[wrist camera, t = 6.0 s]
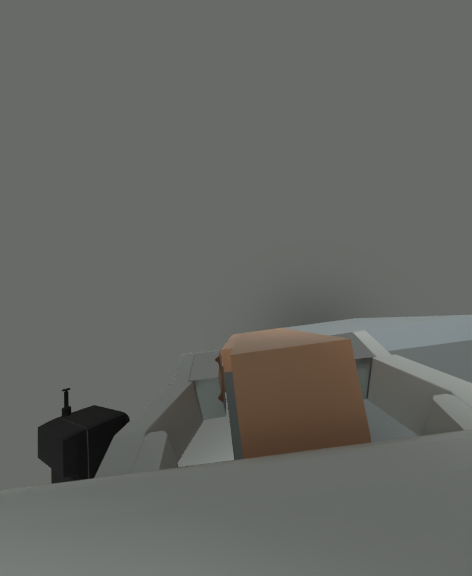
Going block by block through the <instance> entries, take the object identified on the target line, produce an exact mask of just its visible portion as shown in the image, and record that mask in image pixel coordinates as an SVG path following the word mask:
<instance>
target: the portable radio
mask: <svg viewBox="0 0 472 576" xmlns="http://www.w3.org/2000/svg"><path fill="white" fill-rule="evenodd" d="M68 390H70V388H67V389H63V390H62V391H65V392H64V408H62V416H61V417H58V418H56V419H53V420H51V421H49V422H47V423H45V424H43V425H42V426H40V427H38V458H39V459H40V460H42V461H43V462H44V463H45V464H47V465H48V466H49V467H50V468H51V470H52V473H51V474H52V484H54V483H62V482H69V481H77V480H85V479H92V478H94V477H95V475H96V473H97V471H98V469H99V467H100V465H101V463H102V461H103V458H104V456H105V454H106V452H107V450H108V448H109V446H110V444H111V442H112V439H113V437H114V436H115V435H116V434H117V433H118V432H119V431H120V430H121V429H122V428H123V427H124V426H125V425H126V424H127V423H129V422H130V421H129V417H128V415H127V414H126V413H124V412H121V411H116V410H112V409H108V408H104V407H99V406H95V405H94V406H91V407H87V408H84V409H81V410H79V411H76V412H73V413H71V407H70V406H68Z"/></svg>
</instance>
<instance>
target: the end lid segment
mask: <svg viewBox="0 0 472 576" xmlns="http://www.w3.org/2000/svg"><path fill="white" fill-rule="evenodd" d="M221 352H222V360H223V367H224V372H232V373H233V381H234V389H235V397H236V405H237V414H238V422H239V430H240V438H241V446H242V454H243V459H246V458H254V457H262V456H269V455H277V454H285V453H293V452H300V451H308V450H316V449H323V448H331V447H339V446H347V445H354V444H362V443H370V442H372V441H371V436H370V431H369V426H368V421H367V417H366V412H365V407H364V402H363V397H362V392H361V387H360V382H359V377H358V372H357V368H356V363H355V358H354V353H353V348H352V343H351V339H348V338H342V337H335V336H329V335H323V334H316V333H310V332H303V331H297V330H291V329H284V328H278V329H271V330H263V331H256V332H248V333H241V334H235V335H232V336H231V337H230V339H229V340H228V341H227V343H226V344H225V346H224V347H223V348H222V349H221Z"/></svg>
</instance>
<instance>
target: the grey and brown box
mask: <svg viewBox="0 0 472 576" xmlns="http://www.w3.org/2000/svg"><path fill="white" fill-rule="evenodd" d="M284 329H291V330H297V331H303V332H310V333H316V334H323V335H335V334H342V333H349V332H353V331H359V330H364V331H366V332H367V333H369V334H370V335H371V336H372V337H373V338H374V339H375V340H376V341H377V342H378V343H379V344H380V345H382V346H383V347H384V348H385V349H386V350H387V351H388V352H389V353H390V354H391V355H395V354H396V355H399V356H401V357H404V358H407V359H409V360H412V361H415V362H417V363H420V364H422V365H425V366H428V367H430V368H433V369H436V370H438V371H441V372H444V373H446V374H449V375H451V376H454V377H457V378H459V379H462V380H465V381H467V382H470V383H472V315H456V316H455V315H454V316H421V317H388V318H355V319H347V320H340V321H332V322H325V323H317V324H310V325H302V326H295V327H287V328H284ZM225 381H226V393H227V402H228V410H229V418H230V427H231V436H232V444H233V453H234V460H239V459H243V454H242V446H241V438H240V430H239V422H238V414H237V405H236V397H235V389H234V381H233V373H232V372H225ZM363 402H364V407H365V412H366V417H367V421H368V426H369V431H370V436H371V441H372V442H377V441H385V440H393V439H401V438H408V437H416V436H418V435H417V434H416V433H414V432H413V431H411V430H410V429H408V428H407V427H406V426H404V425H403V424H401V423H400V422H398V421H397V420H396V419H394V418H393V417H391V416H390V415H388V414H387V413H386V412H384V411H383V410H381V409H380V408H378V407H377V406H376V405H374V404H373V403H371V402H370V401H368V399H363Z"/></svg>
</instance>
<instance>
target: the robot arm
mask: <svg viewBox="0 0 472 576" xmlns="http://www.w3.org/2000/svg"><path fill="white" fill-rule="evenodd" d="M329 336H335V337H342V338H348V339H351V343H352V348H353V353H354V358H355V363H356V368H357V372H358V377H359V382H360V387H361V392H362V397H363V399H368V401H370V402H371V403H373V404H374V405H376V406H377V407H378V408H380V409H381V410H383V411H384V412H386V413H387V414H388V415H390V416H391V417H393V418H394V419H396V420H397V421H398V422H400V423H401V424H403V425H404V426H406V427H407V428H408V429H410V430H411V431H413V432H414V433H416V434H417V435H418V436H416V437H408V438H401V439H393V440H385V441H377V442H370V443H362V444H354V445H347V446H339V447H331V448H323V449H316V450H308V451H300V452H293V453H285V454H277V455H269V456H262V457H254V458H246V459H239V460H231V461H223V462H216V463H208V464H200V465H193V466H185V467H178V464H177V463H178V461H179V460H180V458H181V456H182V454H183V453H184V451H185V450H186V448H187V447H188V445H189V443H190V442H191V440H192V439H193V437H194V435H195V434H196V432H197V431H198V429H199V427H200V426H201V424H202V422H203V420H208V419H213V418H220V417H225V416H226V399H225V392H226V381H225V372H224V367H223V366H222V356H221V351H220V350H213V351H203V352H196V353H186V354H183V355H182V356H181V359H180V363H179V366H178V370H177V373H176V377H175V380H174V384H169V385H168V386H167V387H166V388H165V389H164V390H163V391H162V392H161V393H160V394H159V395H158V396H157V397H155V398H154V399H153V400H152V401H151V402H150V403H149V404H148V405H147V406H146V407H145V408H144V409H143V410H142V411H140V412H139V413H138V414H137V415H136V416H135V417H134V418H133V419H132V420H131V421H130V422H129V423H127V424H126V425H125V426H124V427H123V428H122V429H121V430H120V431H119V432H118V433H117V434H116V435H115V436H114V437H113V439H112V442H111V444H110V446H109V448H108V450H107V452H106V454H105V456H104V458H103V461H102V463H101V465H100V467H99V469H98V471H97V473H96V475H95V477H94V478H92V479H85V480H77V481H69V482H62V483H54V484H46V485H39V486H31V487H23V488H16V489H8V490H0V576H472V383H470V382H467V381H465V380H462V379H459V378H457V377H454V376H451V375H449V374H446V373H444V372H441V371H438V370H436V369H433V368H430V367H428V366H425V365H422V364H420V363H417V362H415V361H412V360H409V359H407V358H404V357H401V356H399V355H396V354H395V355H391V354H390V353H389V352H388V351H387V350H386V349H385V348H384V347H383V346H382V345H380V344H379V343H378V342H377V341H376V340H375V339H374V338H373V337H372V336H371V335H370V334H369V333H367V332H366V331H364V330H359V331H353V332H349V333H342V334H335V335H329Z"/></svg>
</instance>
